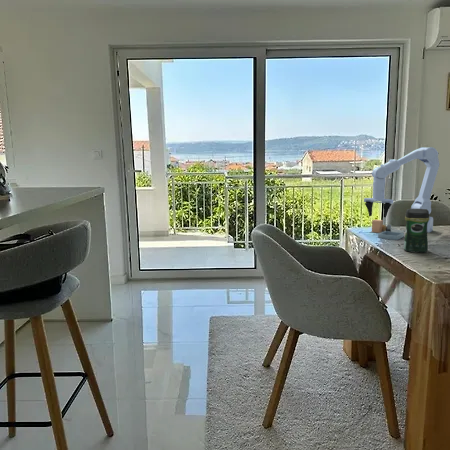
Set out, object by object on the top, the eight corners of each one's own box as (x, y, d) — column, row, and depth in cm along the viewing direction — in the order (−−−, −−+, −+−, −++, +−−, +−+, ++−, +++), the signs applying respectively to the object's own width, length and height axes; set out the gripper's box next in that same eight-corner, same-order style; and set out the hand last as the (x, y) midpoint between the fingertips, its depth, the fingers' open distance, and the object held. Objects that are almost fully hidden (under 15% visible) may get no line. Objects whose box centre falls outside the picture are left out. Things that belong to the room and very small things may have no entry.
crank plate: (406, 233, 209) (406, 230, 209) (396, 237, 199) (397, 235, 198) (379, 230, 218) (379, 227, 218) (369, 234, 208) (369, 232, 208)
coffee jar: (426, 249, 175) (429, 207, 172) (428, 253, 168) (431, 210, 165) (402, 247, 179) (405, 207, 175) (403, 252, 172) (405, 209, 168)
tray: (403, 239, 196) (404, 233, 195) (397, 242, 189) (397, 236, 188) (385, 236, 202) (385, 230, 201) (377, 240, 195) (378, 234, 194)
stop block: (382, 231, 209) (382, 220, 208) (379, 232, 206) (379, 221, 205) (374, 230, 211) (375, 219, 210) (371, 231, 209) (372, 220, 207)
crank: (391, 231, 208) (391, 222, 207) (389, 231, 206) (390, 222, 205) (374, 229, 214) (374, 220, 213) (372, 229, 212) (372, 221, 211)
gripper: (361, 190, 207) (360, 216, 209) (390, 191, 197) (388, 218, 199) (367, 189, 212) (366, 214, 214) (395, 190, 202) (393, 216, 205)
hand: (377, 216), depth 207 cm, fingers open, 7 cm apart
